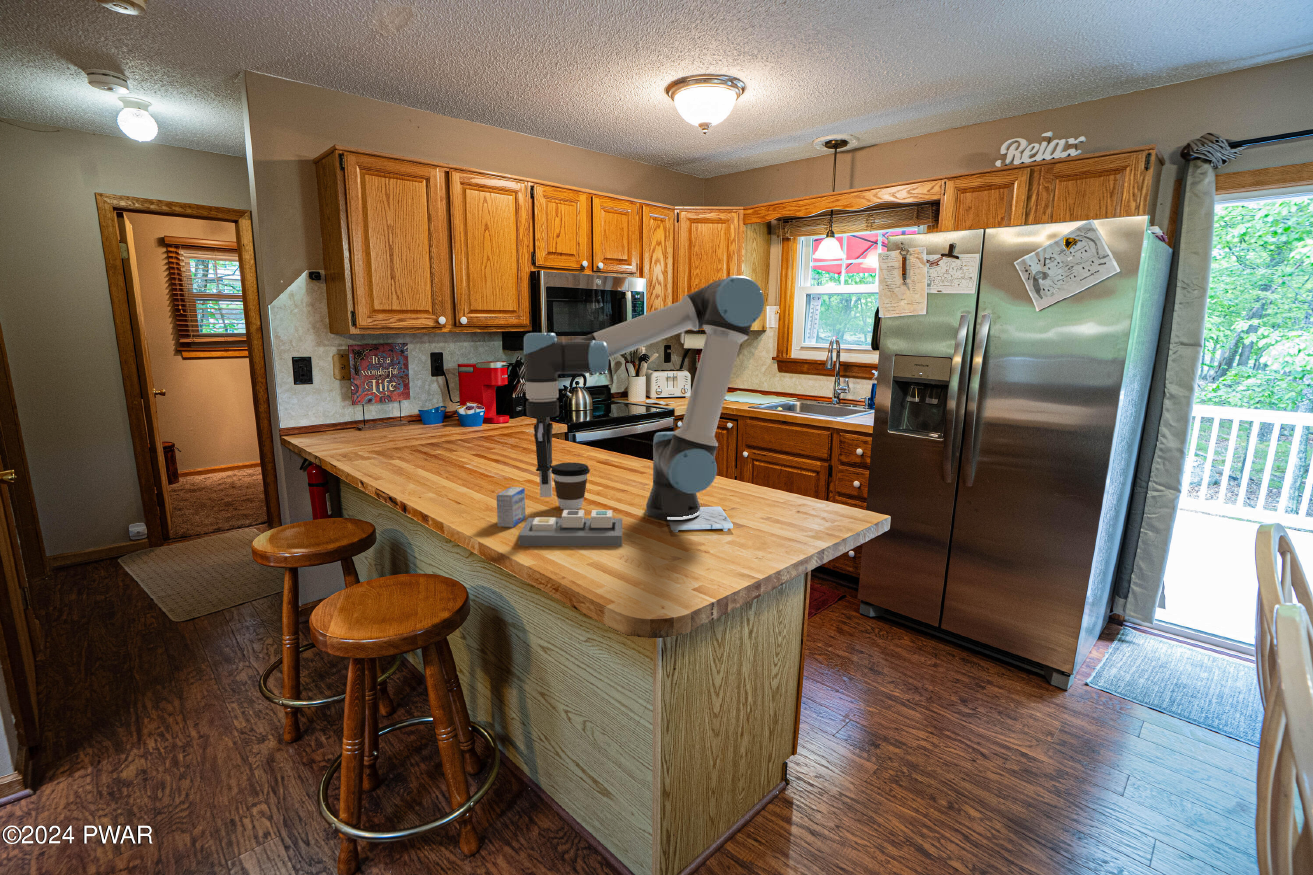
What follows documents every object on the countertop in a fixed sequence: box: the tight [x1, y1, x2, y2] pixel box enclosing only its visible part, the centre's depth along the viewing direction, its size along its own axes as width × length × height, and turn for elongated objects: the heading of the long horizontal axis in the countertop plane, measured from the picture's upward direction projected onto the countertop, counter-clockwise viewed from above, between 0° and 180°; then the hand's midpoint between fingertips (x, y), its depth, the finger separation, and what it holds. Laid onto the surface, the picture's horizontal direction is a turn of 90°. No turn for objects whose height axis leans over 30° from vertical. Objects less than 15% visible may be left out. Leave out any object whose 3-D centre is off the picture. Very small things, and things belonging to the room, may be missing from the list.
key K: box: [561, 509, 585, 528], centre depth 145 cm, size 5×5×3 cm
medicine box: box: [496, 486, 526, 529], centre depth 154 cm, size 8×4×9 cm, turn 168°
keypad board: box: [518, 517, 623, 547], centre depth 145 cm, size 24×13×3 cm, turn 93°
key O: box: [590, 509, 613, 528], centre depth 145 cm, size 5×5×3 cm
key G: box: [532, 516, 557, 531], centre depth 145 cm, size 5×5×3 cm
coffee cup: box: [551, 462, 591, 511], centre depth 169 cm, size 11×11×12 cm
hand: (546, 495), depth 144 cm, fingers closed
